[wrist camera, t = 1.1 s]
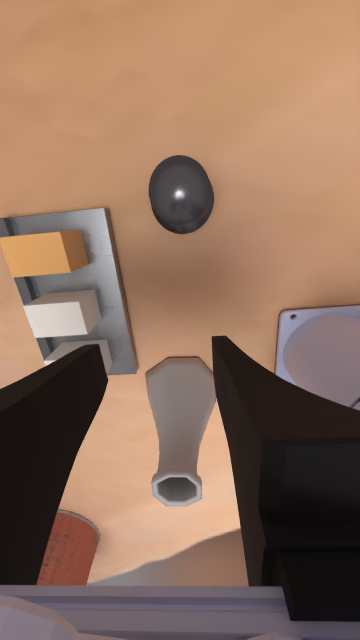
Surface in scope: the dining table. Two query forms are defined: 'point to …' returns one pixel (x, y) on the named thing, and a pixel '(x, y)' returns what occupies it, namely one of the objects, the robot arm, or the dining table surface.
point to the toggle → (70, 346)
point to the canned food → (69, 550)
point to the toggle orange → (44, 253)
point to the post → (180, 194)
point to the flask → (179, 426)
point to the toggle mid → (63, 313)
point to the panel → (83, 281)
